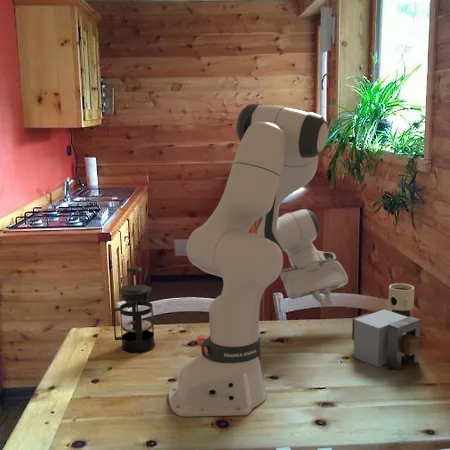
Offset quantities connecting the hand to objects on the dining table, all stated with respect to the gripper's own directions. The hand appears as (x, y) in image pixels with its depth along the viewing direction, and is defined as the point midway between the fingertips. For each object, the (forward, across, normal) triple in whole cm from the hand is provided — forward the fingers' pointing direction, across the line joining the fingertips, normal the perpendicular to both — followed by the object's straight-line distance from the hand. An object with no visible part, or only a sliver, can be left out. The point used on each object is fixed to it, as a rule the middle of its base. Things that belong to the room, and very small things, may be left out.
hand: (327, 304), depth 167 cm
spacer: (+24, +4, -13) cm, 27 cm away
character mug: (+13, +21, +2) cm, 24 cm away
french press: (-8, -51, +20) cm, 56 cm away
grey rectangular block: (+19, +3, -8) cm, 21 cm away
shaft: (+18, +3, -11) cm, 21 cm away
